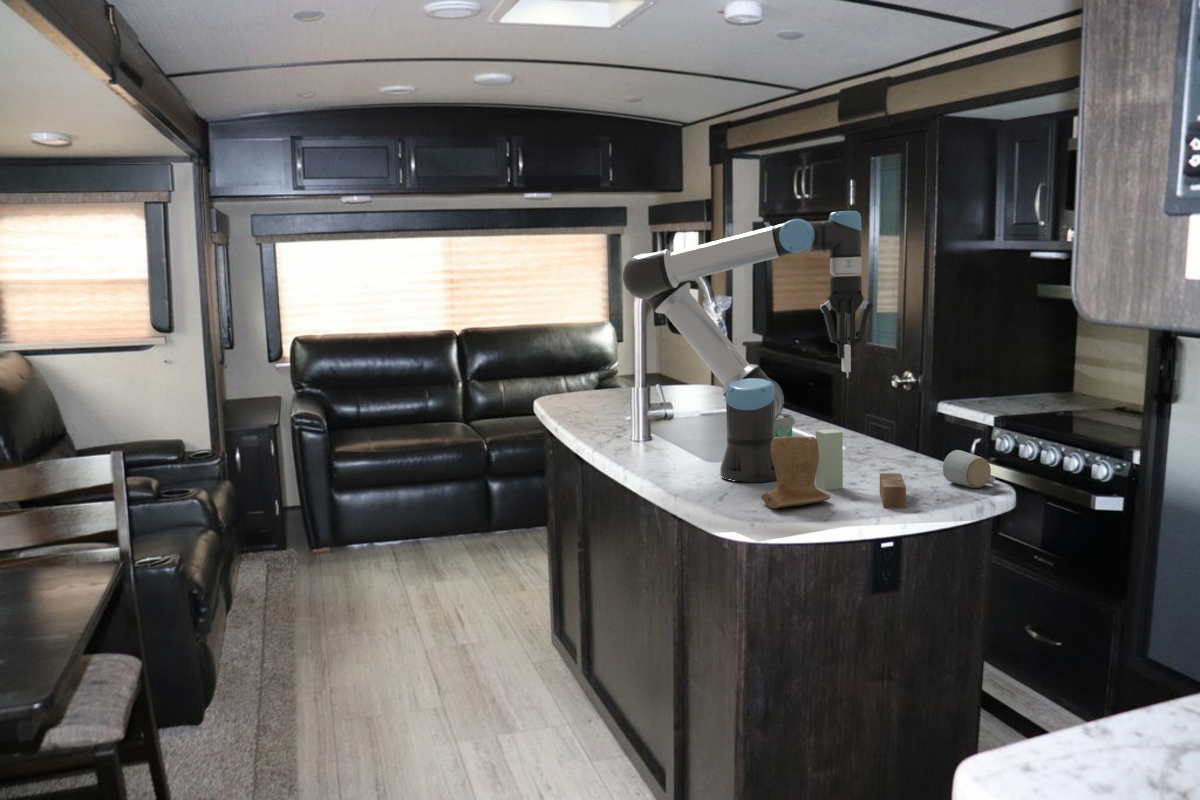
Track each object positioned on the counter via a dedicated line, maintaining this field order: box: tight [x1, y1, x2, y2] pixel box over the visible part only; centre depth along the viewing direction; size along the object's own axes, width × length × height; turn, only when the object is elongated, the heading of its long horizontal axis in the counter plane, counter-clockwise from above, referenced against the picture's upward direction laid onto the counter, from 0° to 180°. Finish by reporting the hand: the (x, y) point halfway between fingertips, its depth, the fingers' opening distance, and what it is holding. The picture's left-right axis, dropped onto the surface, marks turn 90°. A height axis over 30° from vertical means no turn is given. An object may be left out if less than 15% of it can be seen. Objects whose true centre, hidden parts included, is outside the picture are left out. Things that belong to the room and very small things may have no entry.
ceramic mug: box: [942, 449, 996, 489], centre depth 222 cm, size 11×8×8 cm
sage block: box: [815, 428, 844, 491], centre depth 224 cm, size 4×4×13 cm
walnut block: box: [879, 472, 907, 509], centre depth 210 cm, size 4×4×14 cm
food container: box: [775, 412, 796, 437], centre depth 269 cm, size 12×6×10 cm, turn 168°
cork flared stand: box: [760, 435, 832, 509], centre depth 210 cm, size 15×12×15 cm
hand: (846, 371), depth 242 cm, fingers closed
